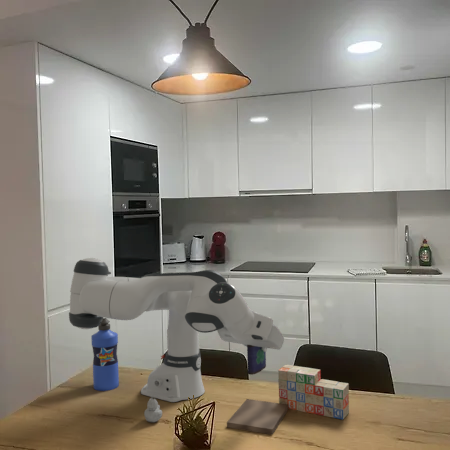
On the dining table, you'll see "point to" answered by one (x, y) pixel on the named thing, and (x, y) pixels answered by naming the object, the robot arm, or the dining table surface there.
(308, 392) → the stack of blocks
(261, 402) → the walnut board
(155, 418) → the rubber duck
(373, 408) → the dining table surface
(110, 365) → the water bottle
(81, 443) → the dining table surface
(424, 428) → the dining table surface
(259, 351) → the flask
